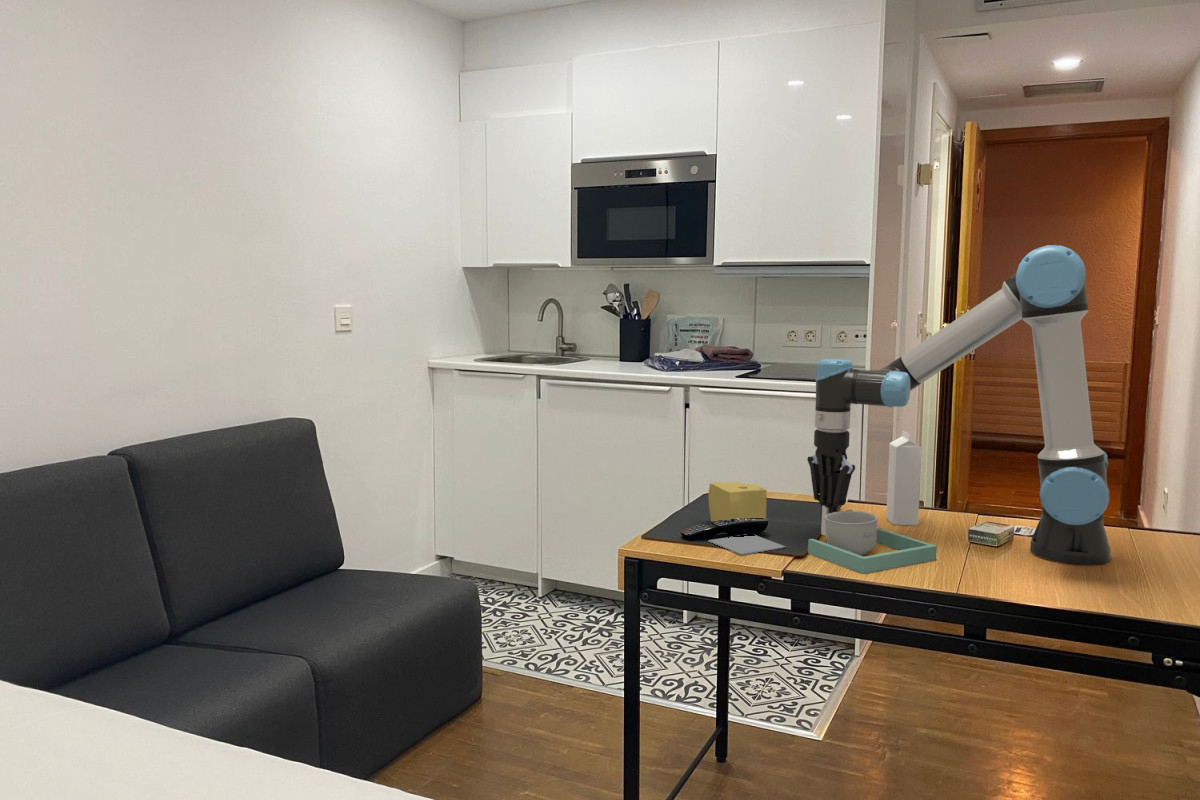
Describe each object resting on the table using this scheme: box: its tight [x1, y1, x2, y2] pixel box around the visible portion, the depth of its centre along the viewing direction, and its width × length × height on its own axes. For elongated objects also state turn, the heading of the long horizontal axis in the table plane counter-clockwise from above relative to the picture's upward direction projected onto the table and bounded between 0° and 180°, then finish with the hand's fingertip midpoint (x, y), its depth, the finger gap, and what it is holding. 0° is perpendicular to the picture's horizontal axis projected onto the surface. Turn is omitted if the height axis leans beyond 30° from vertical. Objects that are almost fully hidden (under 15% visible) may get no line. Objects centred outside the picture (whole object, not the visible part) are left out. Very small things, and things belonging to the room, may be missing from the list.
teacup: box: [825, 509, 878, 556], centre depth 197 cm, size 14×11×8 cm
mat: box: [707, 534, 787, 556], centre depth 201 cm, size 12×12×1 cm
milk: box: [886, 430, 923, 526], centre depth 221 cm, size 6×6×22 cm
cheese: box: [708, 481, 768, 522], centre depth 217 cm, size 10×11×10 cm
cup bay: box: [807, 527, 938, 575], centre depth 193 cm, size 16×20×3 cm
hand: (828, 534), depth 205 cm, fingers closed
